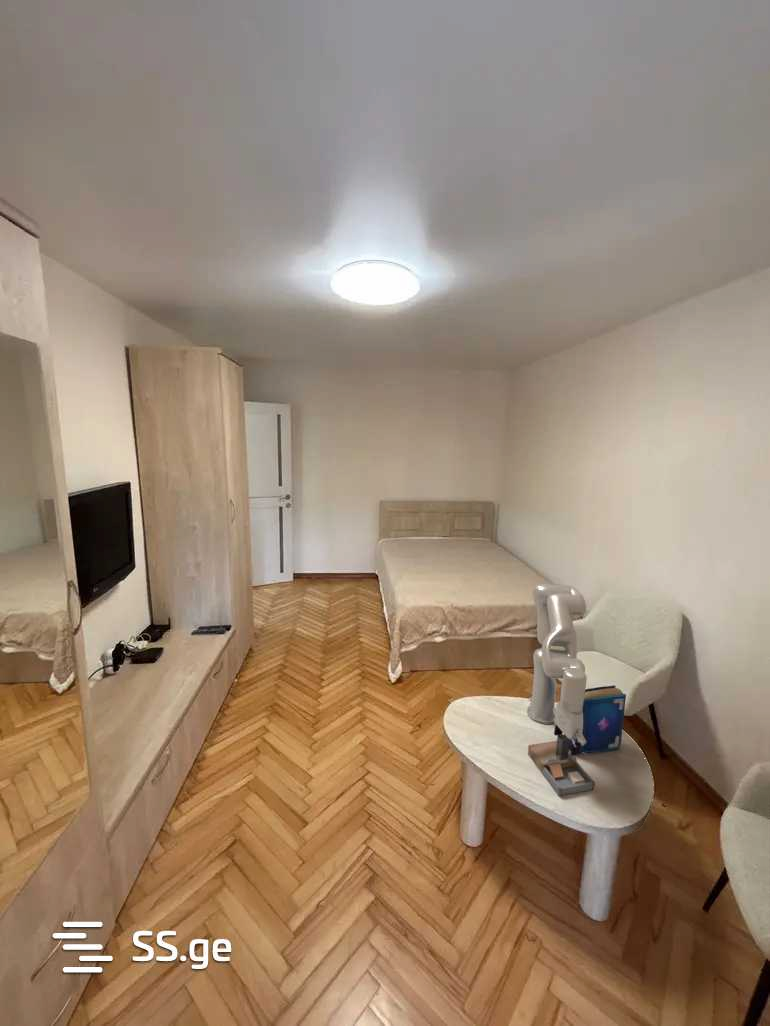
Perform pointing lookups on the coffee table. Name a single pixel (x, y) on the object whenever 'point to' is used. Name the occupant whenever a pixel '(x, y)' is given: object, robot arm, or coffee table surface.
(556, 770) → the tile terracotta
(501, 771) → the coffee table surface
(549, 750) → the brown tray
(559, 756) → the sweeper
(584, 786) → the box
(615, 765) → the coffee table surface
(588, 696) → the book
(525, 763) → the coffee table surface
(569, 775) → the tile cream
